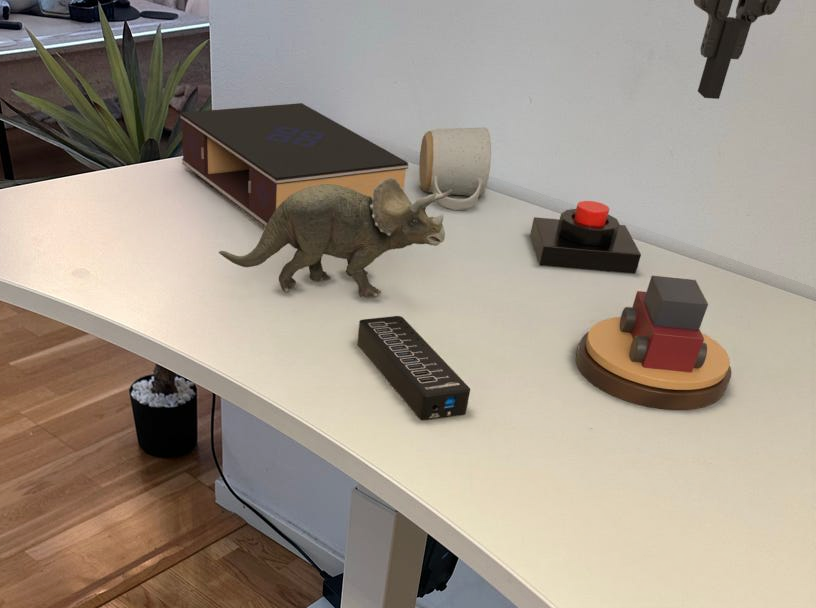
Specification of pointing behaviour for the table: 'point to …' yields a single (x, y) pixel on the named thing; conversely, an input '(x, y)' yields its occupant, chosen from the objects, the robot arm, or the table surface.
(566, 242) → the control box
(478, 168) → the ceramic mug
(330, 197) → the toy dinosaur
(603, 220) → the button
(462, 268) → the table surface
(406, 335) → the multiport hub
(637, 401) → the turntable base
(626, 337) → the toy car
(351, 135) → the miniature wooden cabinet
